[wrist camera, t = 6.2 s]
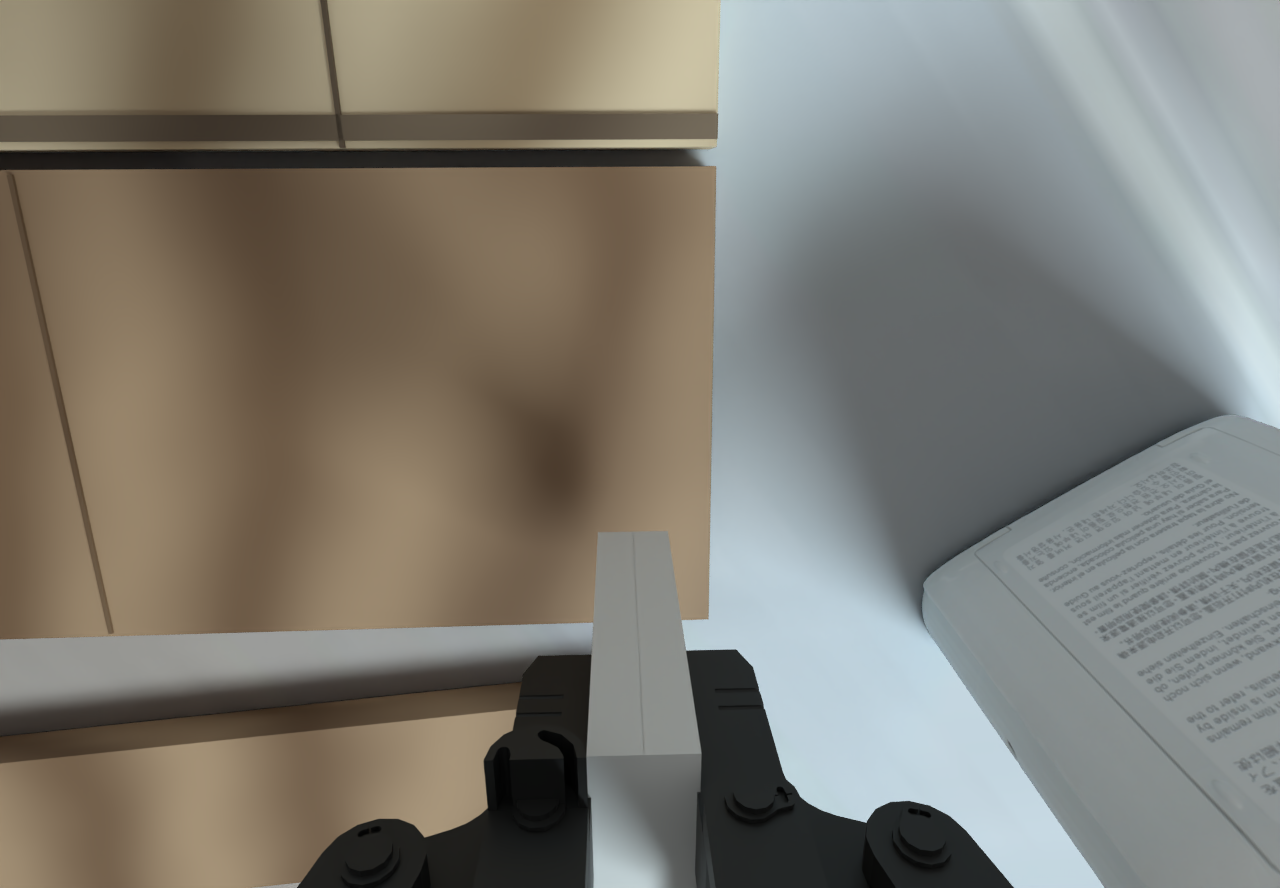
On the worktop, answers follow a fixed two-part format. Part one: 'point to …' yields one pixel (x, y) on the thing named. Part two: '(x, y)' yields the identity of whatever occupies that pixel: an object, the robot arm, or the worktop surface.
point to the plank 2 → (239, 789)
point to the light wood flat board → (358, 75)
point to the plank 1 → (347, 394)
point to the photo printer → (1139, 657)
